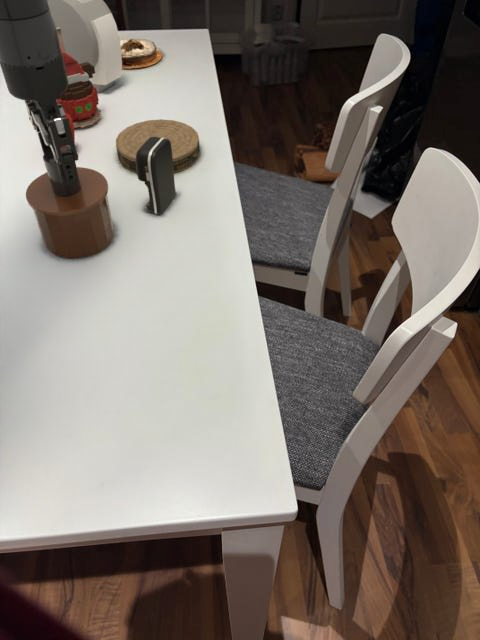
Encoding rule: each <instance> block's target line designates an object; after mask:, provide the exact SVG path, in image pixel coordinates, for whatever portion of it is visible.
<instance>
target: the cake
mask: <svg viewBox="0 0 480 640" xmlns="http://www.w3.org/2000/svg"><path fill="white" fill-rule="evenodd" d="M56 29H57V33H58V38H59V42H60V47H61V51H62V55H63V60H64V64H65V68H66V73H67V77H68V82H69V85H68V88H67V89H66V91H65V92H64V93H61V94H60V95H59V96H58V97H57V98H56V99H57V102H58V105H60V104H61V105H62V107H63V109H64V112H65V113H67V114H68V115H70V117H71V118H72V121H73V124H74V129H75V128H79V127H81V128H84V127H89V126H91V125H94V123H95V122H99V120H100V118H101V117H102V115H101V114H102V111H101V109H100V108H99V107H98V105H99V101H100V100H99V94H98V92H97V89H96V88H95V87H94V86H93V85H92V82H91V81H89V80H88V79H89V78H93V75H92V74H95V69H94V66H93V65H91V64H90V63H88V62H85V63H81V64H79V63H78V62H77V60H75V59H74V58H73V57H71V56H70V55H68V54H67V53H66V51H65V47H64V42H63V38H62V33H61V29H60V28H59V27H58V28H56Z"/></svg>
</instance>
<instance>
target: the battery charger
mask: <svg viewBox="0 0 480 640" xmlns="http://www.w3.org/2000/svg"><path fill="white" fill-rule="evenodd" d="M136 169H137V173H136V174H137V179H138V181H139V182H144V185H145V187H147V191H148V195H149V201H148V202H147V204H146V206H145V207H146V210H147V211H148V212H150V213H154V214H156V215H161V214H162V213H163V212H164V211H165V210H166V209H167V207H168V206H169V204H170V203H171V201H172V200H173V199H174V197H175V196H176V194H177V192H176V184H175V173H174V169H173V157H172V148H171V143H170V141H169V140H168V139H166V138H160V137H150V138H149V139H148V140H147V141H146V142H145V143H144V144H143V145H142V146H141V147H140V149H139V150H138V151H137V153H136Z"/></svg>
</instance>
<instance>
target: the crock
mask: <svg viewBox="0 0 480 640" xmlns="http://www.w3.org/2000/svg"><path fill="white" fill-rule="evenodd" d="M108 197H109V196H108V194H107V195H106V197H105V198H104V199H103V201H102V202H100V203H99V204H98V205H96V206H95V207H93V208H91V209H89V210H87V211H84V212H81V213H78V214H73V215H66V216H52V215H46V214H43V213H40V212H37V211H36V210H34V209H33V208H32V211H33V214H34V218H35V220H36V224H37V226H38V229H39V231H40V235H41V237H42V241H43V243H44V245H45V248H46V249H47V250H48V251H49V253H51V254H52V255H54V256H56V257H59V258H61V259H67V260H79V259H85V258H89V257H92V256H95V255H97V254H100V253H101V252H103V251H104V250H105V249H107V248H108V247H109V246H110V245H111V243H112V242H113V240H114V238H115V227H114V221H113V216H112V212H111V208H110V203H109V198H108Z"/></svg>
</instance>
